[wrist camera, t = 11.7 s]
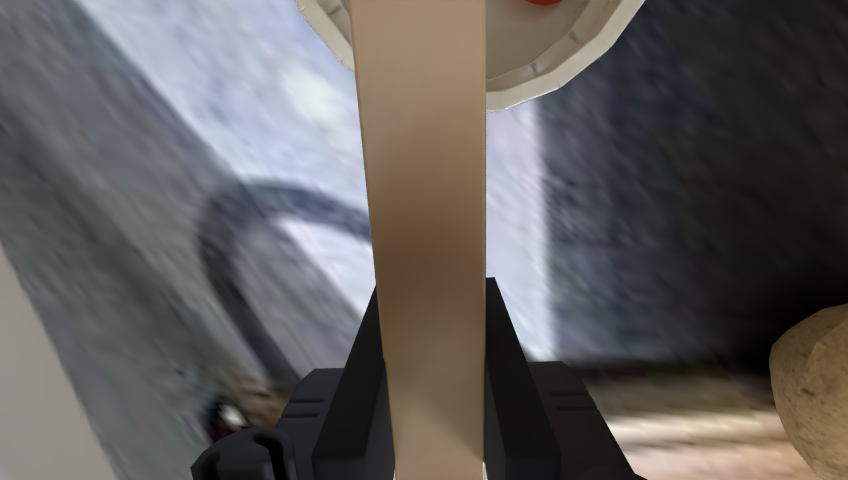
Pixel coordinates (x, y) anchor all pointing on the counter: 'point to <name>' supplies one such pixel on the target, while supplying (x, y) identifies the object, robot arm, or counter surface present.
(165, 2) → the counter surface
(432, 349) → the ladle
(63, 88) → the counter surface
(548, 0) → the tomato
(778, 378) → the potato
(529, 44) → the bowl
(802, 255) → the counter surface
